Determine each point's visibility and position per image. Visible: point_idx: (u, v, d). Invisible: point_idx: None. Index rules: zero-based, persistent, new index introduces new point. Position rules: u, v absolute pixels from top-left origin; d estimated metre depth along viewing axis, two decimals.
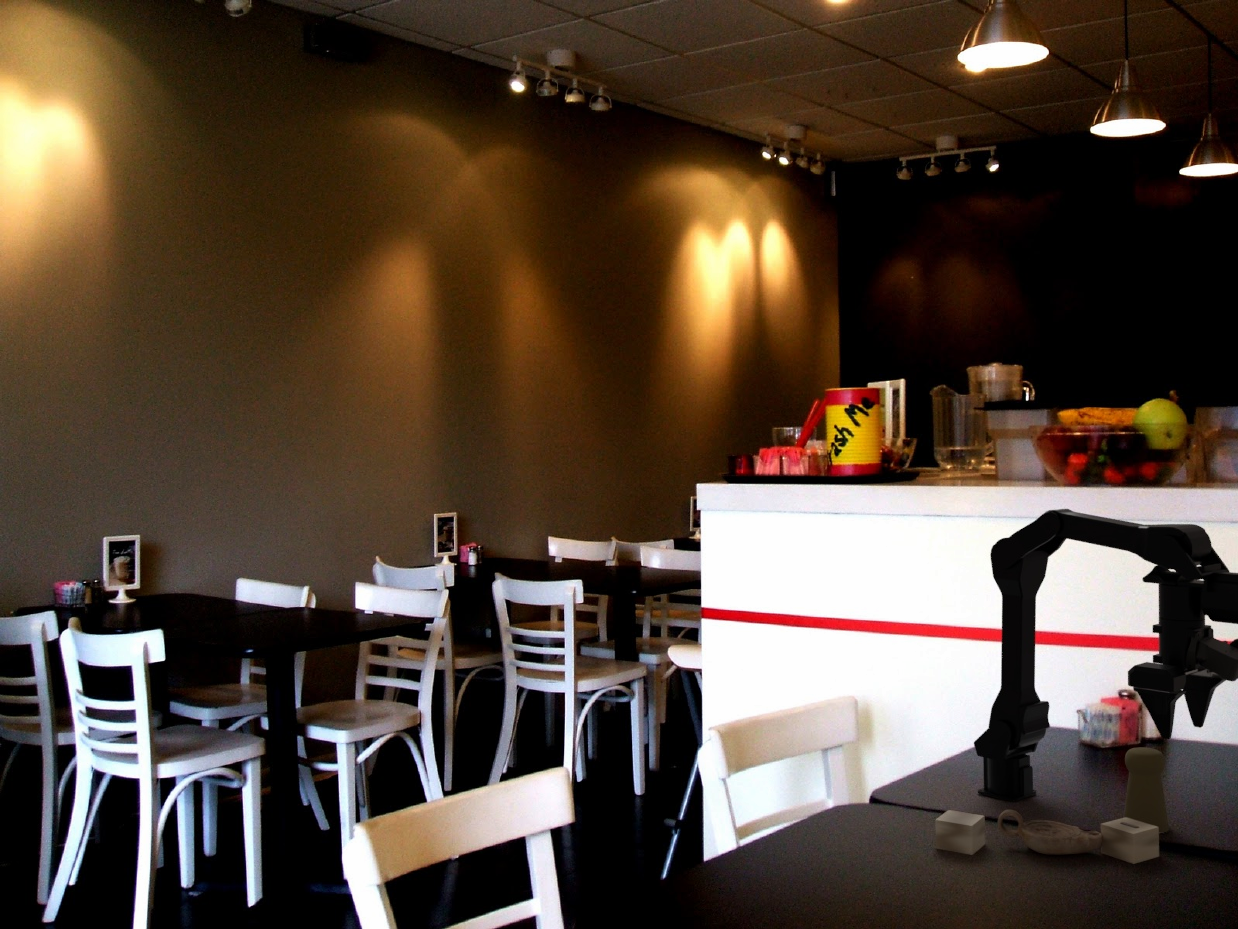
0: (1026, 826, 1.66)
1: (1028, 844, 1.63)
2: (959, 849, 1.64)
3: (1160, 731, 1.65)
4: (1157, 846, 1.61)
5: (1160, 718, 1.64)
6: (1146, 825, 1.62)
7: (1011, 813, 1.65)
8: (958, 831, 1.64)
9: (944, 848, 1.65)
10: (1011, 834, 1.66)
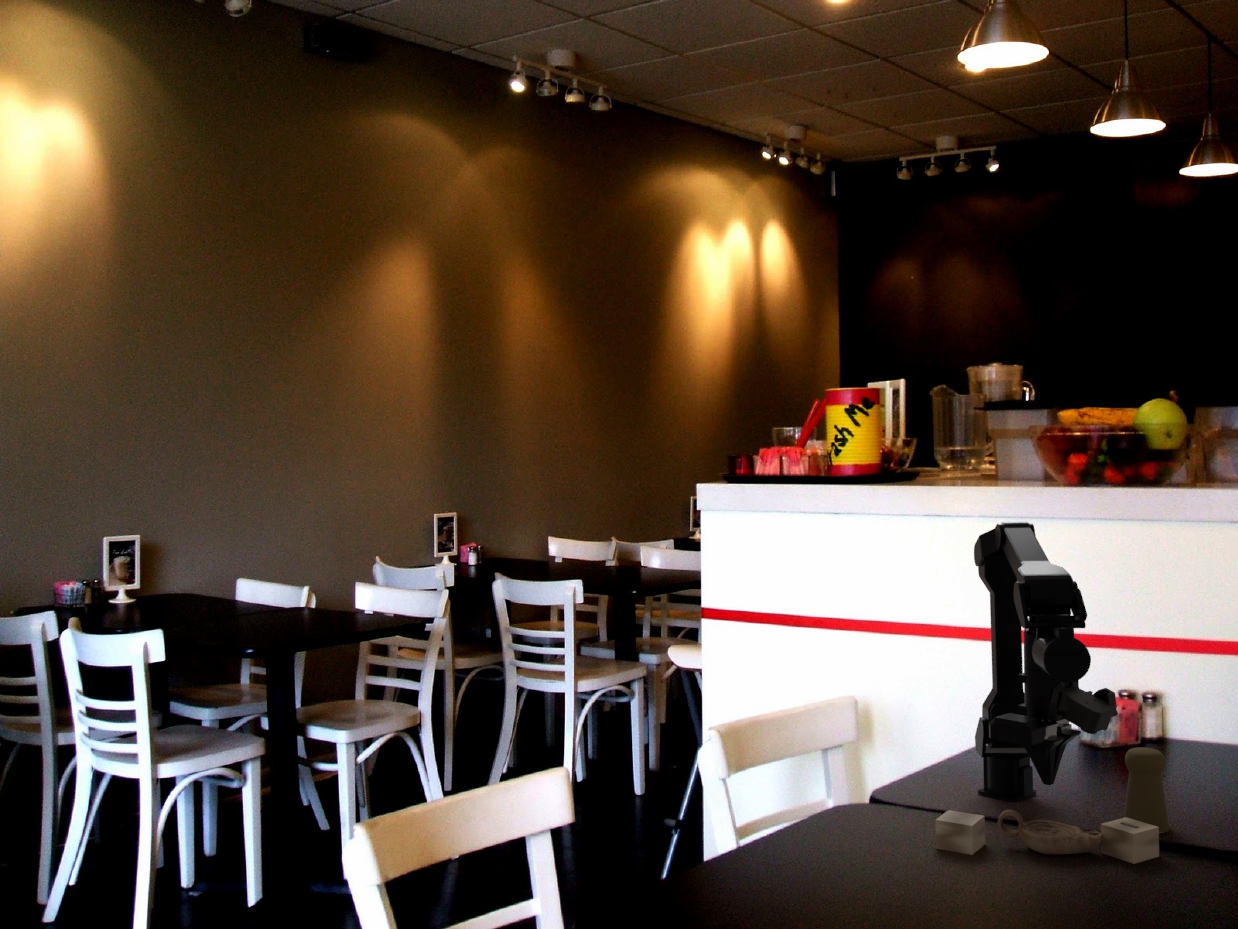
0: (1026, 826, 1.66)
1: (1028, 844, 1.63)
2: (959, 849, 1.64)
3: (1041, 777, 1.64)
4: (1157, 846, 1.61)
5: (1041, 764, 1.64)
6: (1146, 825, 1.62)
7: (1011, 813, 1.65)
8: (958, 831, 1.64)
9: (944, 848, 1.65)
10: (1011, 834, 1.66)
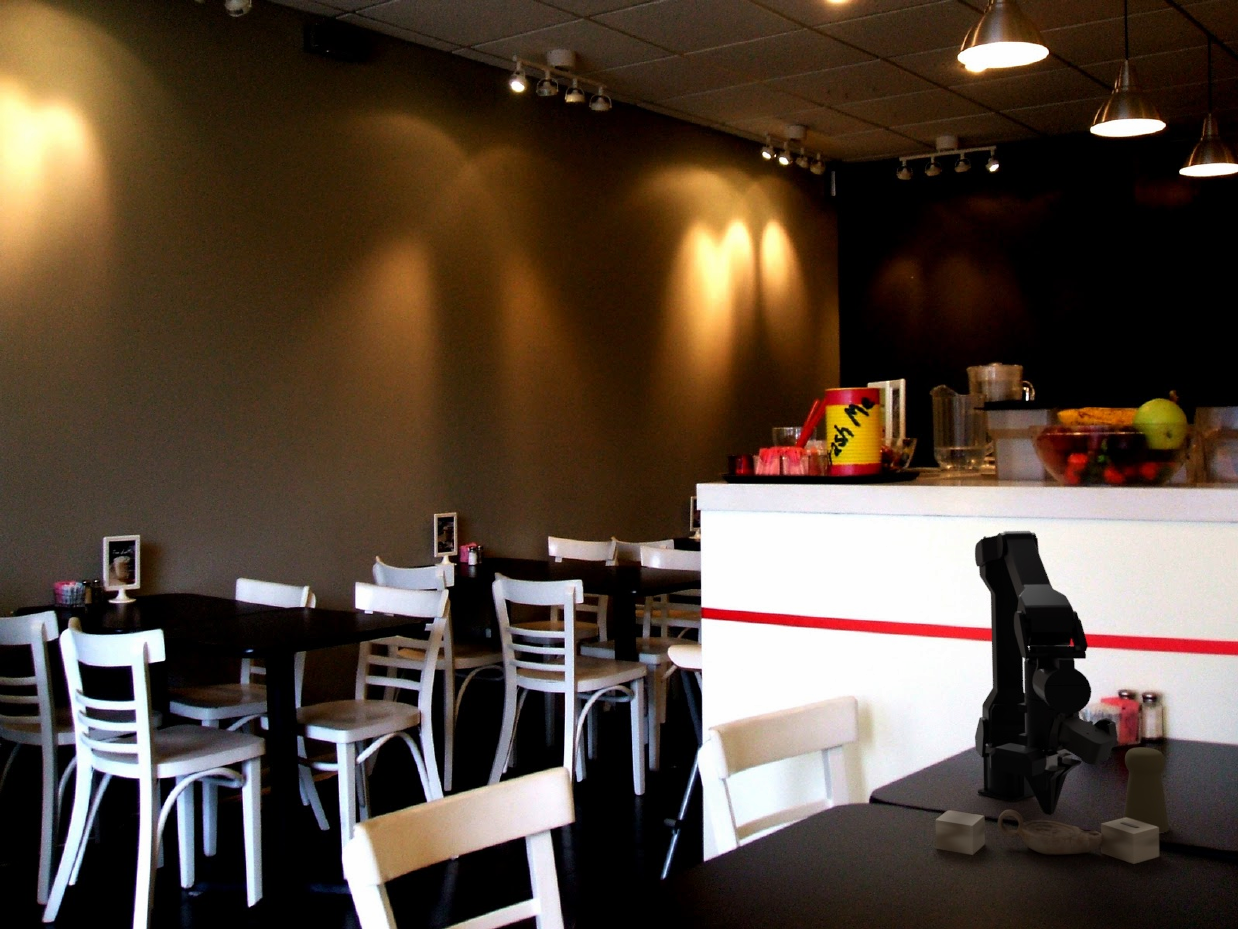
0: (1026, 826, 1.66)
1: (1028, 844, 1.63)
2: (959, 849, 1.64)
3: (1042, 807, 1.64)
4: (1157, 846, 1.61)
5: (1041, 794, 1.64)
6: (1146, 825, 1.62)
7: (1011, 813, 1.65)
8: (958, 831, 1.64)
9: (944, 848, 1.65)
10: (1011, 834, 1.66)
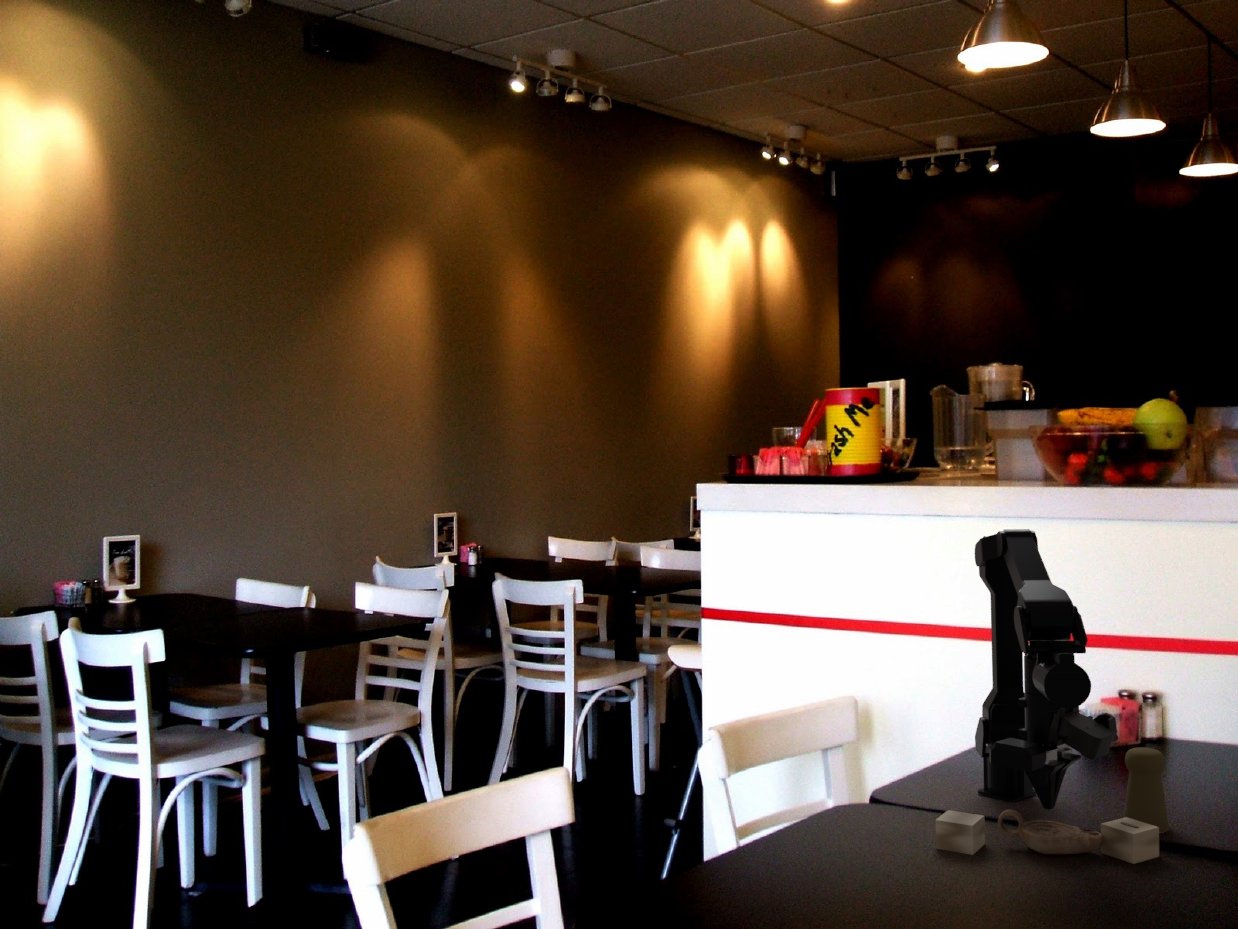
0: (1026, 826, 1.66)
1: (1028, 844, 1.63)
2: (959, 849, 1.64)
3: (1042, 801, 1.64)
4: (1157, 846, 1.61)
5: (1041, 789, 1.64)
6: (1146, 825, 1.62)
7: (1011, 813, 1.65)
8: (958, 831, 1.64)
9: (944, 848, 1.65)
10: (1011, 834, 1.66)
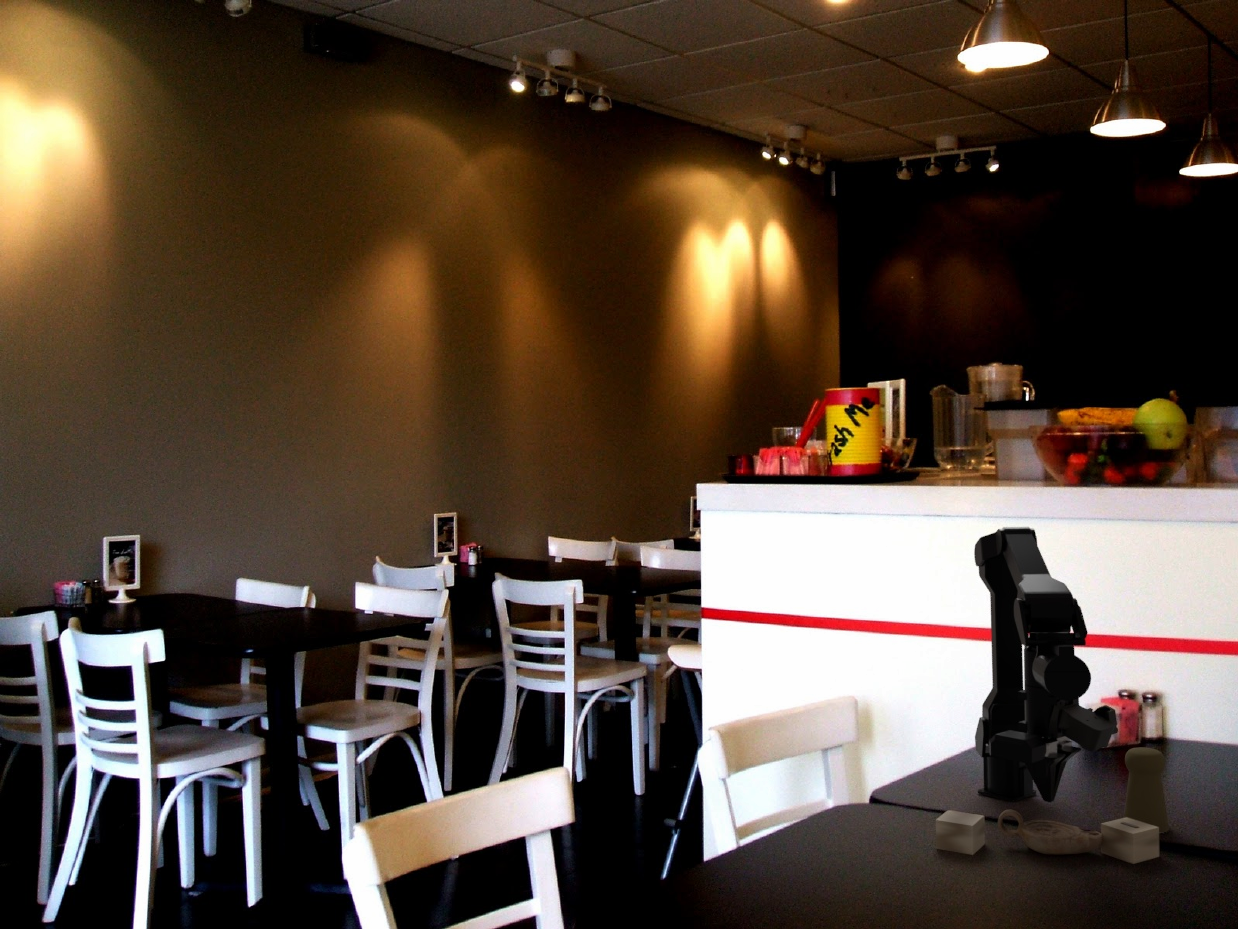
0: (1026, 826, 1.66)
1: (1028, 844, 1.63)
2: (959, 849, 1.64)
3: (1042, 794, 1.64)
4: (1157, 846, 1.61)
5: (1041, 781, 1.64)
6: (1146, 825, 1.62)
7: (1011, 813, 1.65)
8: (959, 831, 1.64)
9: (944, 848, 1.65)
10: (1011, 834, 1.66)
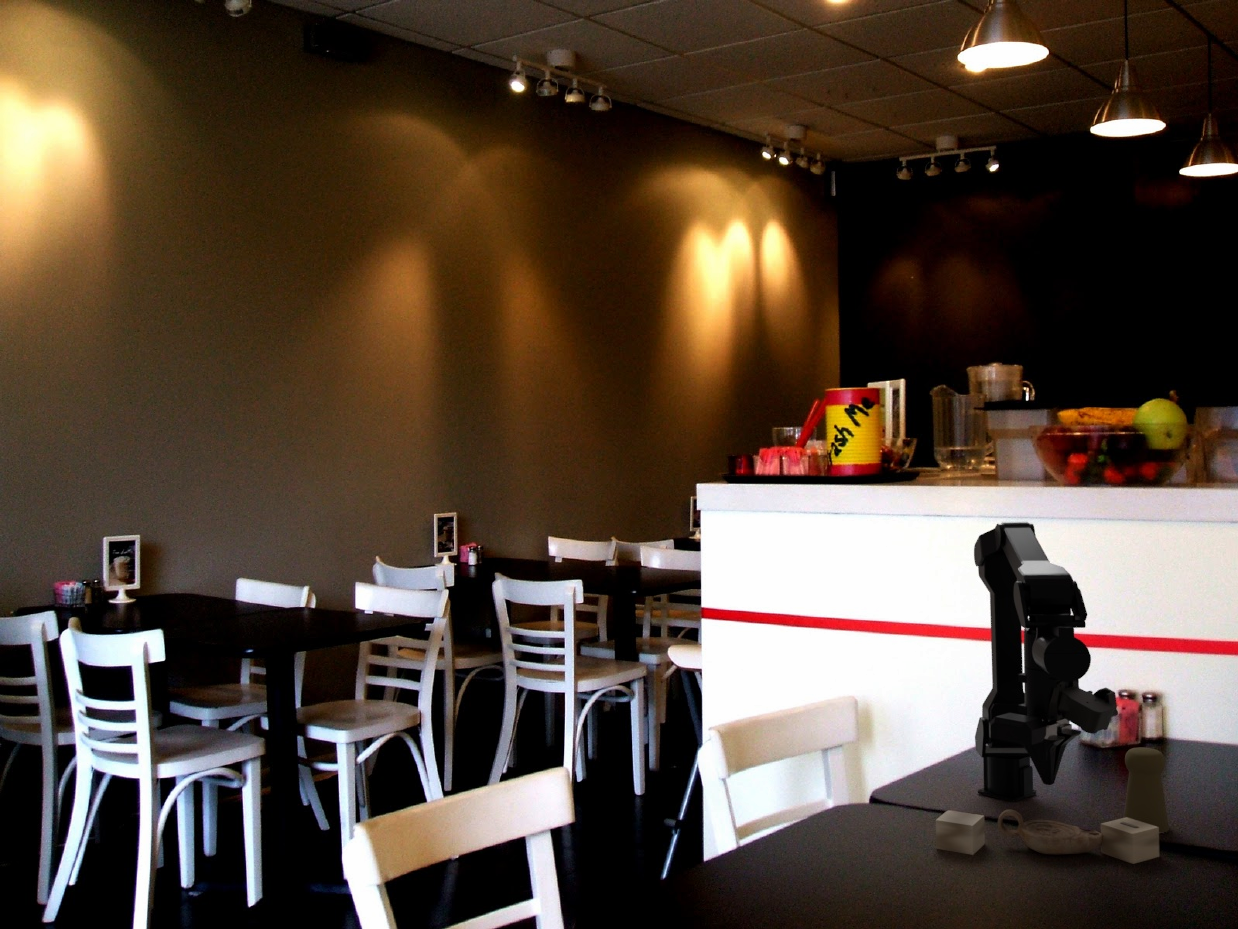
0: (1026, 826, 1.66)
1: (1028, 844, 1.63)
2: (960, 849, 1.64)
3: (1042, 777, 1.64)
4: (1157, 846, 1.61)
5: (1041, 764, 1.63)
6: (1146, 825, 1.62)
7: (1011, 813, 1.65)
8: (959, 831, 1.64)
9: (944, 848, 1.65)
10: (1011, 834, 1.66)
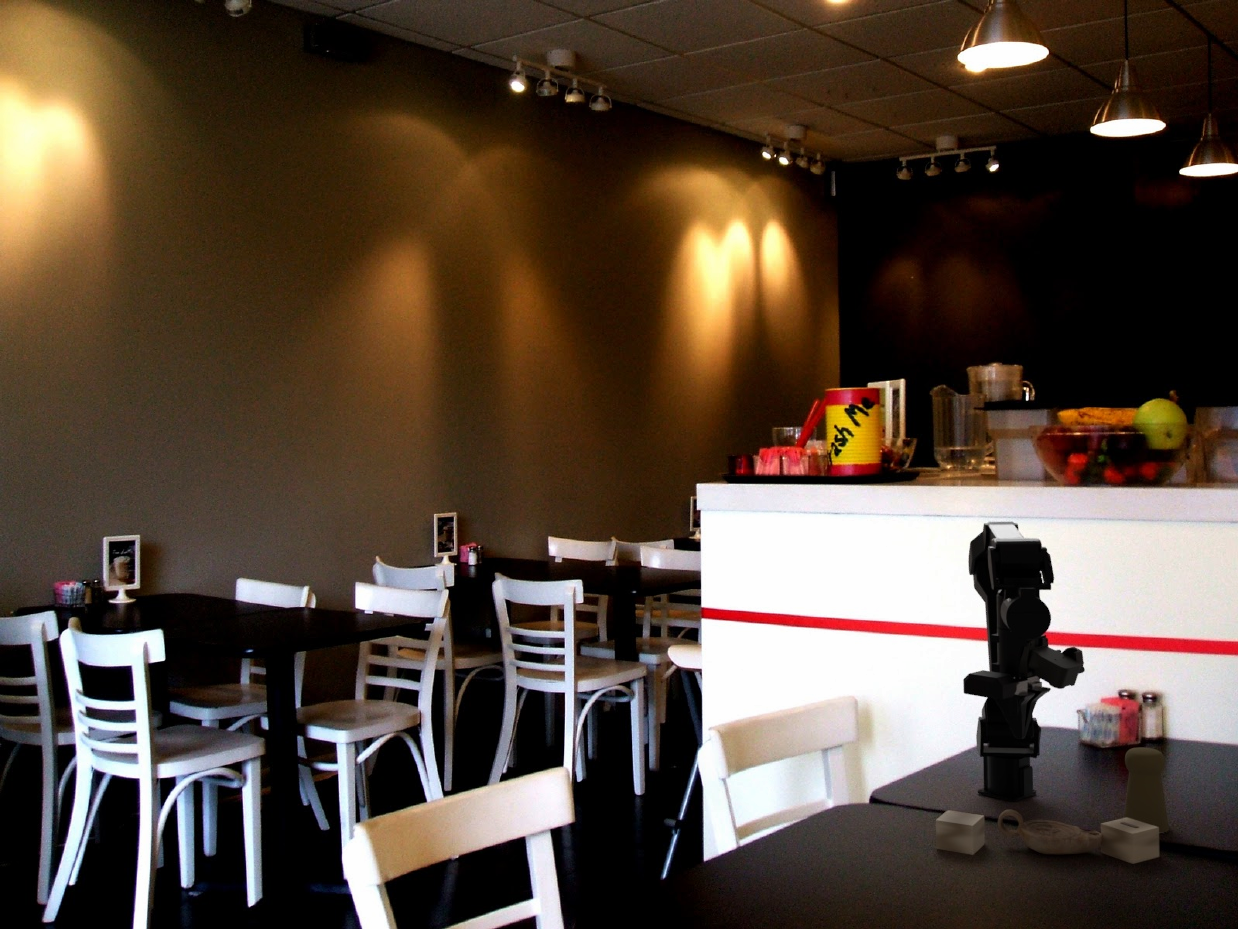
0: (1026, 826, 1.66)
1: (1028, 844, 1.63)
2: (960, 849, 1.64)
3: (1013, 731, 1.74)
4: (1157, 846, 1.61)
5: (1013, 719, 1.73)
6: (1146, 825, 1.62)
7: (1011, 813, 1.65)
8: (959, 831, 1.64)
9: (945, 848, 1.65)
10: (1011, 834, 1.66)
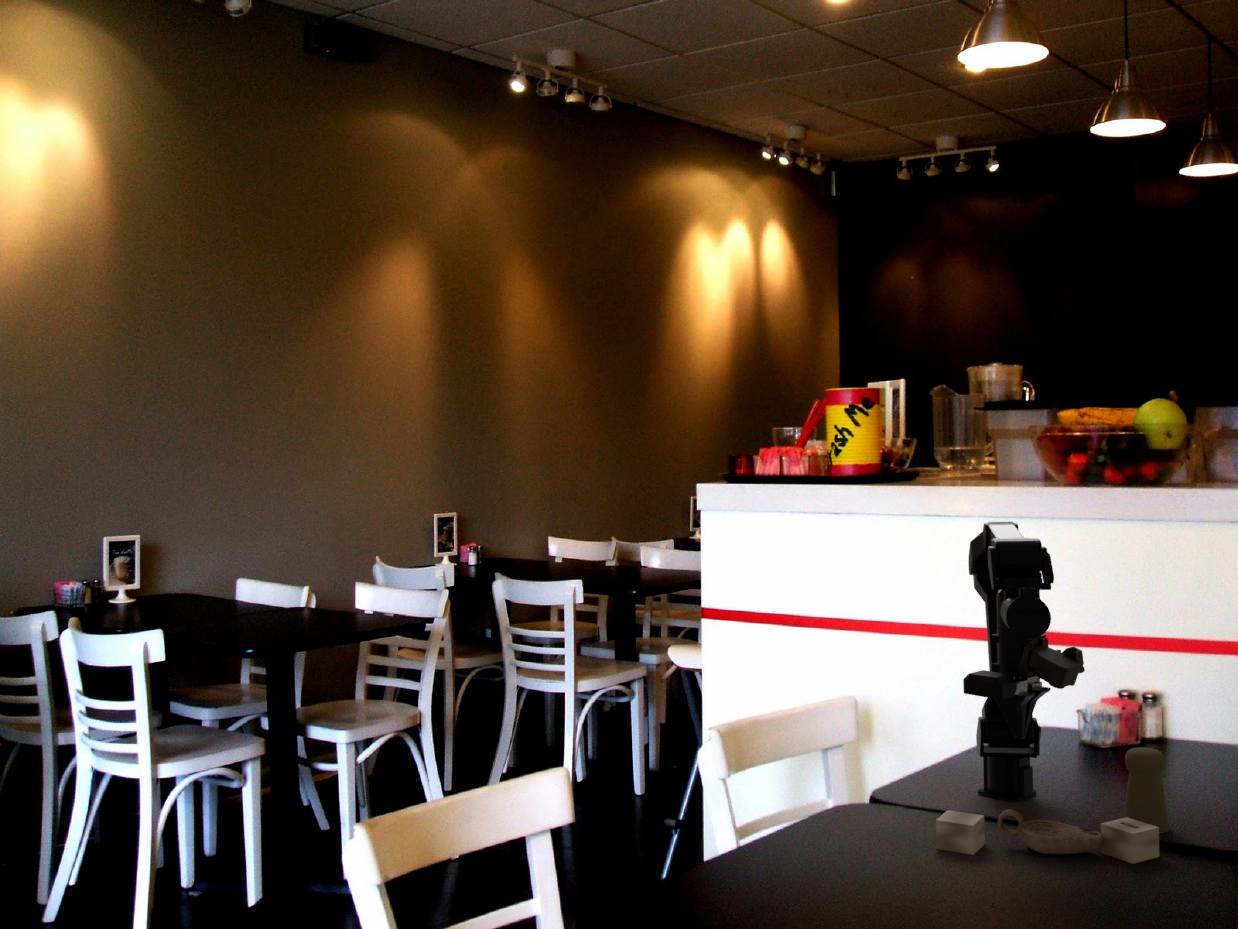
0: (1026, 826, 1.66)
1: (1028, 844, 1.63)
2: (960, 849, 1.64)
3: (1013, 731, 1.74)
4: (1157, 846, 1.61)
5: (1013, 719, 1.73)
6: (1146, 825, 1.62)
7: (1011, 813, 1.65)
8: (959, 831, 1.64)
9: (945, 848, 1.65)
10: (1011, 834, 1.66)
